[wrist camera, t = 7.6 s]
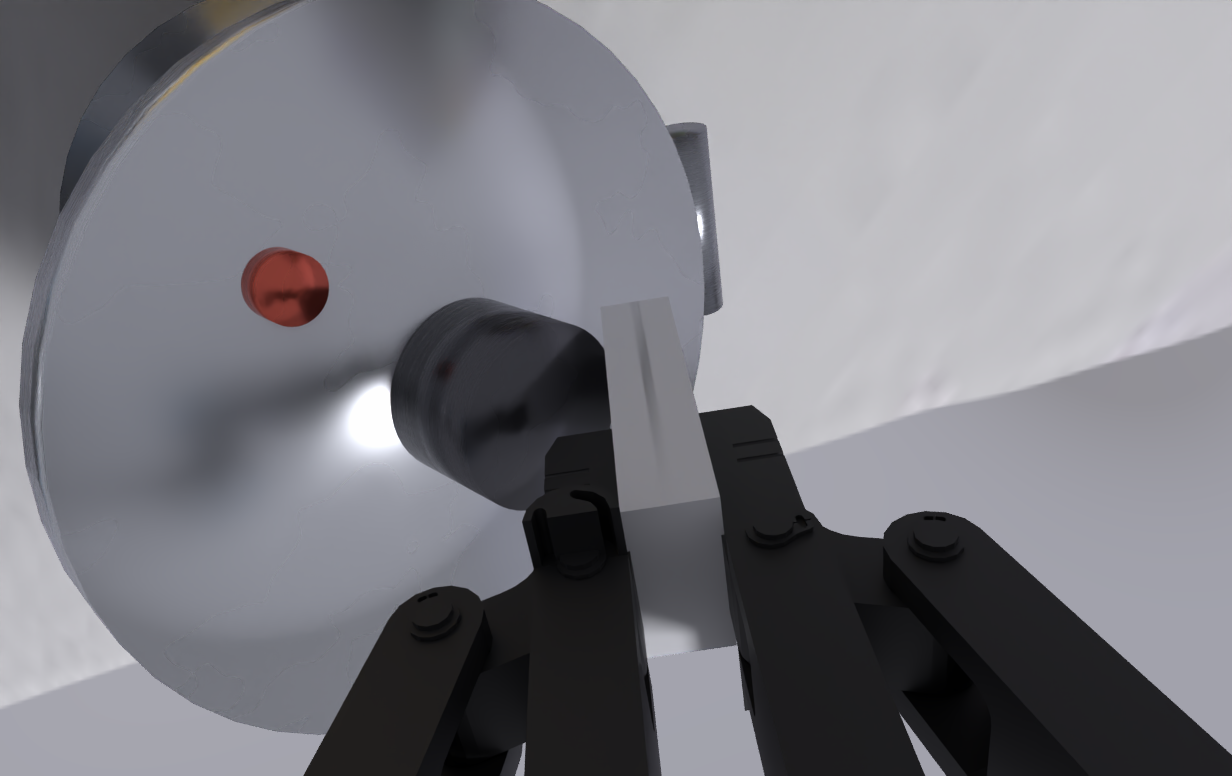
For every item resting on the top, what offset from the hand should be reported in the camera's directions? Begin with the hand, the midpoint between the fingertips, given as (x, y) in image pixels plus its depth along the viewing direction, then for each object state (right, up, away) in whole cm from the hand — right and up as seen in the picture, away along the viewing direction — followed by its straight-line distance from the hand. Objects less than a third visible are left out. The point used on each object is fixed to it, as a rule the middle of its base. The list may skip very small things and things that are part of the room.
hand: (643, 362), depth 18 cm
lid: (-4, 0, +1) cm, 5 cm away
